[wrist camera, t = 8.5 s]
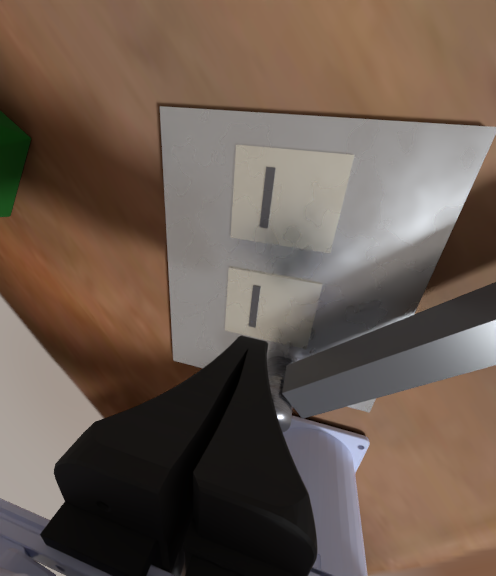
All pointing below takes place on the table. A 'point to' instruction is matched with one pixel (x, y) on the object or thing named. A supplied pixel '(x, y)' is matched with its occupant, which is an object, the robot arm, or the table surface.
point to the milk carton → (11, 162)
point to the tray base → (304, 227)
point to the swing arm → (398, 356)
